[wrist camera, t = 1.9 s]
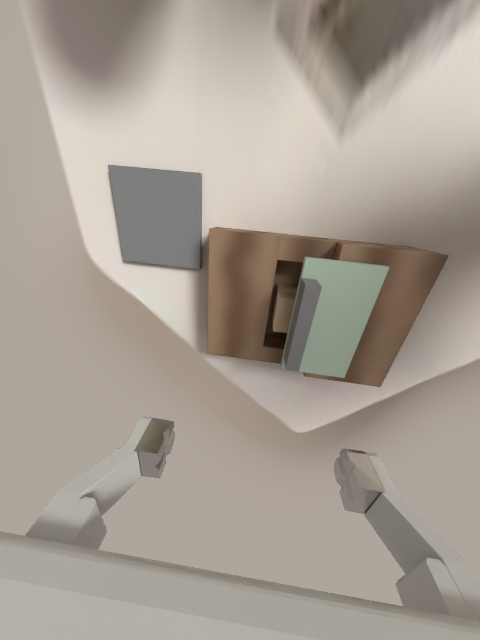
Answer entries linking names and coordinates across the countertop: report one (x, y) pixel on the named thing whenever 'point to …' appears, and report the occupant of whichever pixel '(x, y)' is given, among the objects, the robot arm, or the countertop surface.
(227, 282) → the puzzle board
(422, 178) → the countertop surface
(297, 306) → the sliding lid
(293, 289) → the maple block
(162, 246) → the rubber pad
